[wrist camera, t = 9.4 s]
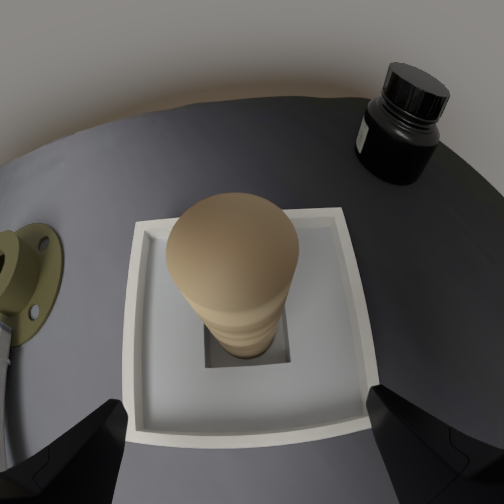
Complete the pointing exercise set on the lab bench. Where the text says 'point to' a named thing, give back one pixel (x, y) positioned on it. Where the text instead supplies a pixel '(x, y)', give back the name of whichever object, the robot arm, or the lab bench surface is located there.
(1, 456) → the light grey piece
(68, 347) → the lab bench surface
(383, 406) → the robot arm
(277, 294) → the peg
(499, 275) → the lab bench surface
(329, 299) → the box
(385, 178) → the ink bottle
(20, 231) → the flange
